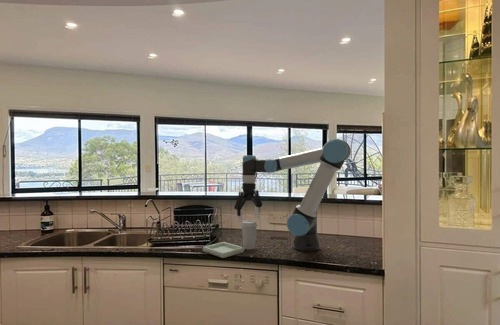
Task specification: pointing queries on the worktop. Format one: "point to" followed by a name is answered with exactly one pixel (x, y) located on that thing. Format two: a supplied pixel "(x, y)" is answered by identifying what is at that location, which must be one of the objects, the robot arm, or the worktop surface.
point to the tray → (223, 249)
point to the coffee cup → (249, 234)
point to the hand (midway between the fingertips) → (248, 220)
